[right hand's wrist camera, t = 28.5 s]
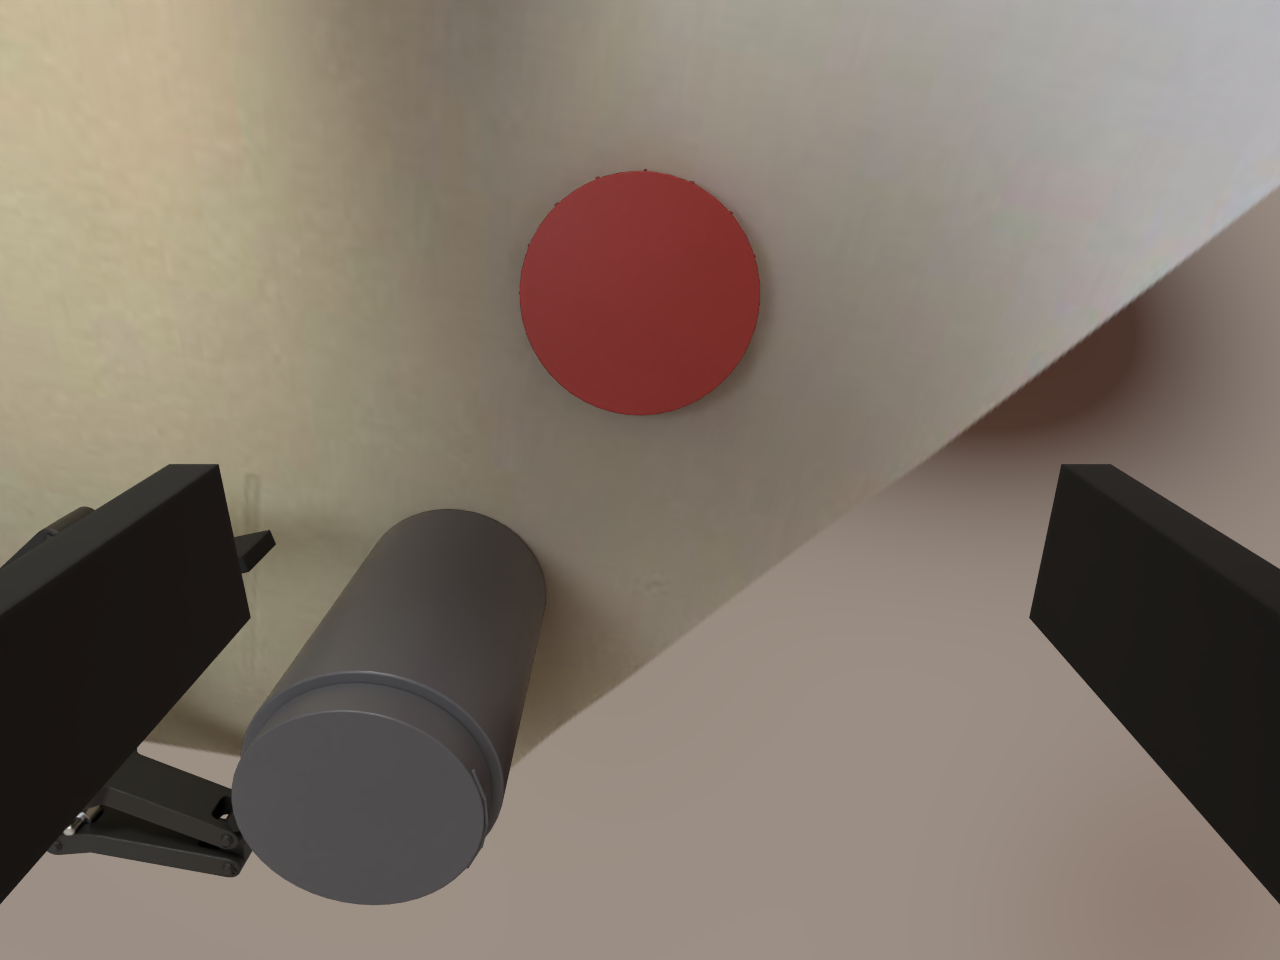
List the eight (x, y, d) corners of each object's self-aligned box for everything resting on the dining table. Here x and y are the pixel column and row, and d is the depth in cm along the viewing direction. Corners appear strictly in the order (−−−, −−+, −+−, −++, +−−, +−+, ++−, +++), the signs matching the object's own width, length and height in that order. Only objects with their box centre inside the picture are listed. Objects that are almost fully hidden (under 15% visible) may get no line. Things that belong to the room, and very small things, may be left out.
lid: (741, 152, 35) (747, 151, 33) (764, 387, 39) (770, 397, 37) (503, 191, 36) (496, 192, 34) (549, 419, 40) (545, 430, 38)
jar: (404, 683, 45) (288, 935, 30) (336, 533, 42) (167, 734, 27) (568, 645, 44) (532, 886, 29) (513, 488, 41) (440, 671, 26)
